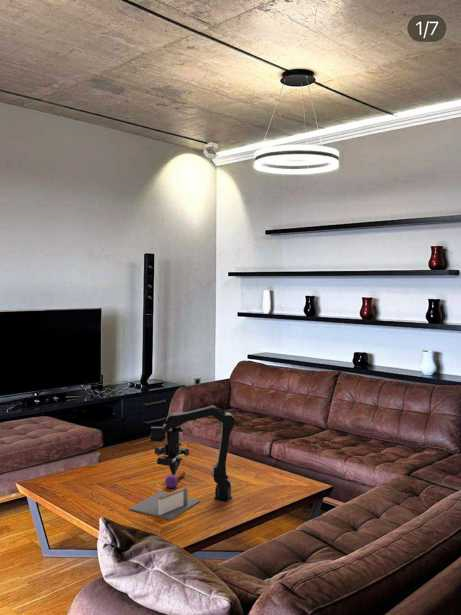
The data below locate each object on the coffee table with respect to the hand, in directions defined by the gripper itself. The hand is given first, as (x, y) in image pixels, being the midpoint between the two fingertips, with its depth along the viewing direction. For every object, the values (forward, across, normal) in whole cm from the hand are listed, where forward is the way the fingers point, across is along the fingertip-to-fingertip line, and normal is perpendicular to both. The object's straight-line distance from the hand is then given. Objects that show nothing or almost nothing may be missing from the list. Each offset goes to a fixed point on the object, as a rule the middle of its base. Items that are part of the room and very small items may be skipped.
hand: (173, 474), depth 272 cm
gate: (+11, +13, +7) cm, 18 cm away
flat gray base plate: (+12, +8, 0) cm, 14 cm away
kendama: (+12, -20, -12) cm, 26 cm away
